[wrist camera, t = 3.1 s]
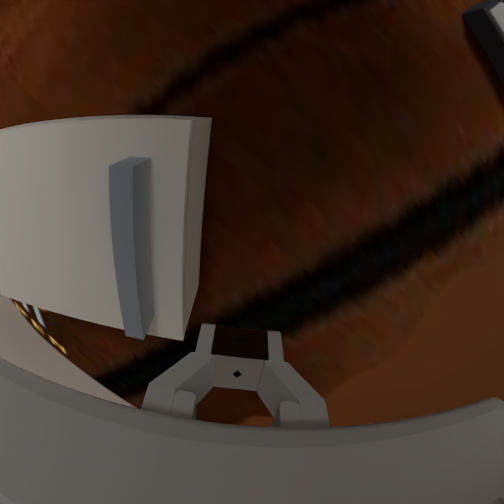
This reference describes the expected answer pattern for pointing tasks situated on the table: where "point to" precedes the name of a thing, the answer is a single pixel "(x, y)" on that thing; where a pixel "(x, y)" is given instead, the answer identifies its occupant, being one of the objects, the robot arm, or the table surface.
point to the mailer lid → (97, 220)
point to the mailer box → (193, 197)
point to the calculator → (489, 30)
